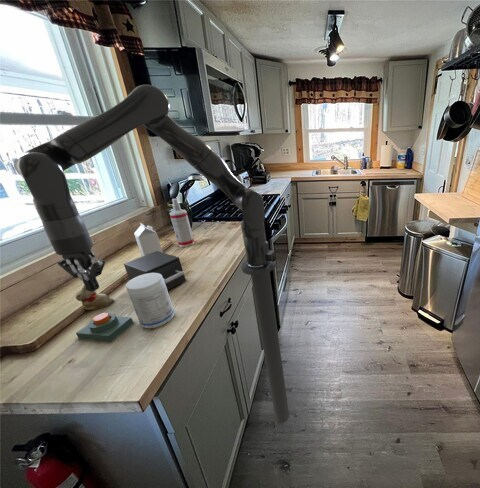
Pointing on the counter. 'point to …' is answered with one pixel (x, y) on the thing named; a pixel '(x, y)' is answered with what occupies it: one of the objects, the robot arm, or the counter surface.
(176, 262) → the drawer
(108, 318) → the button
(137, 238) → the milk carton
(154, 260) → the small drawer cabinet
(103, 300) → the chocolate bunny
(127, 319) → the block
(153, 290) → the supplement tub
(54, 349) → the counter surface
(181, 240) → the spray bottle
